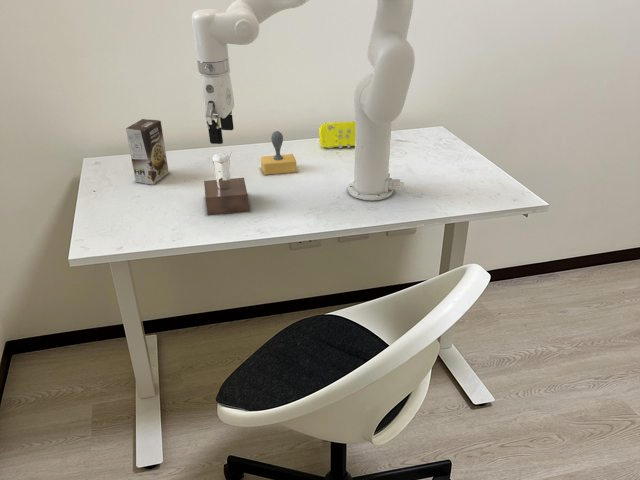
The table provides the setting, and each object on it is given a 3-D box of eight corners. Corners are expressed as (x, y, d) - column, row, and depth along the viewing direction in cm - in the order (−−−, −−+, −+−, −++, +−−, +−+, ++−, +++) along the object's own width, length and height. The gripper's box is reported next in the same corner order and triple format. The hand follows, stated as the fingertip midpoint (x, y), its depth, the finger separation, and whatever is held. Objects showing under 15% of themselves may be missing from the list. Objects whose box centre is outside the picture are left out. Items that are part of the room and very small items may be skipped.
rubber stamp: (264, 175, 186) (261, 136, 179) (261, 168, 190) (258, 129, 183) (296, 172, 188) (295, 133, 180) (293, 165, 192) (291, 126, 185)
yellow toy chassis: (321, 150, 202) (321, 124, 197) (319, 143, 206) (319, 118, 202) (369, 147, 203) (370, 122, 198) (366, 141, 208) (367, 116, 203)
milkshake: (232, 191, 165) (228, 155, 159) (213, 189, 166) (208, 153, 160) (237, 184, 169) (234, 148, 163) (218, 183, 170) (214, 147, 164)
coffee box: (154, 185, 181) (144, 130, 171) (134, 182, 183) (124, 128, 173) (170, 173, 188) (161, 120, 178) (151, 170, 189) (142, 117, 180)
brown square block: (245, 194, 176) (243, 177, 173) (249, 211, 167) (247, 194, 164) (206, 197, 174) (203, 180, 171) (207, 215, 165) (205, 197, 162)
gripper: (218, 77, 142) (226, 149, 152) (238, 57, 156) (245, 125, 166) (186, 76, 143) (197, 148, 153) (209, 57, 157) (218, 124, 167)
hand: (222, 136), depth 159 cm, fingers open, 9 cm apart
